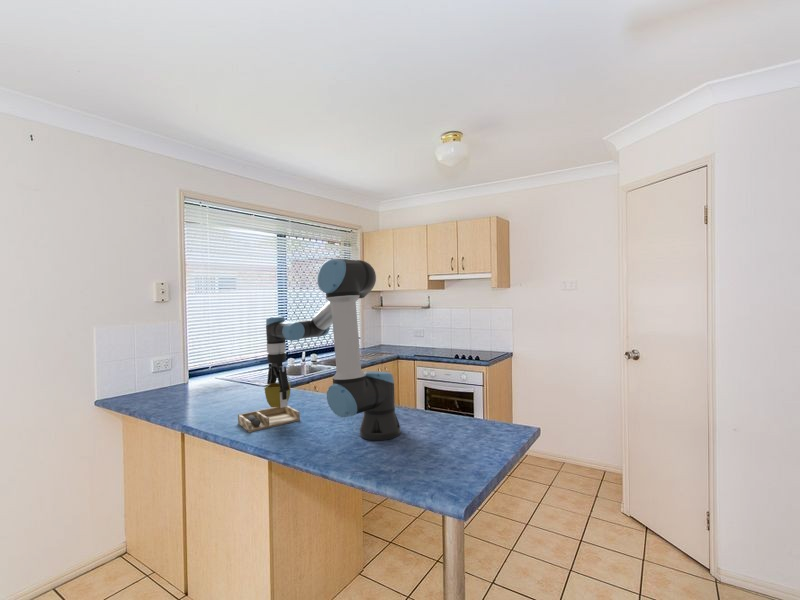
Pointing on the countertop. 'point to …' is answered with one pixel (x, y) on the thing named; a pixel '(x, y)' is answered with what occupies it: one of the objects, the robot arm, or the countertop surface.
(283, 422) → the divided wooden tray
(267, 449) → the countertop surface
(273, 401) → the flower pot
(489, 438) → the countertop surface
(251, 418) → the cord stub
